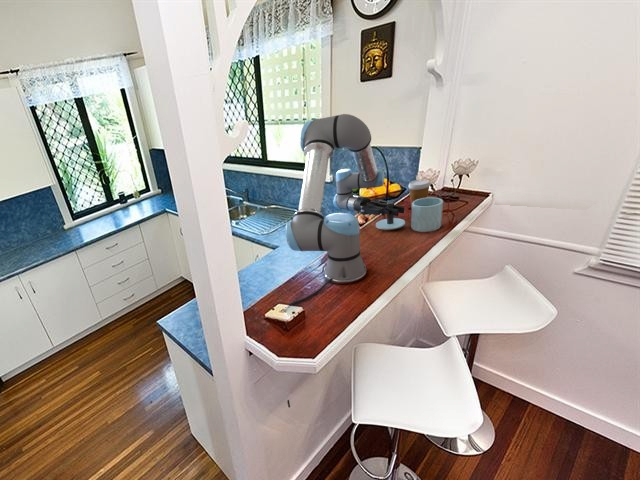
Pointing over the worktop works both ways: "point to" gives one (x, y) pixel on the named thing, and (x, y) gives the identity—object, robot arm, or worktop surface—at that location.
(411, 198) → the disposable coffee cup
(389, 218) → the lid
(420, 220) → the light blue pot
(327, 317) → the worktop surface
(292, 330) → the worktop surface
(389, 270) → the worktop surface
